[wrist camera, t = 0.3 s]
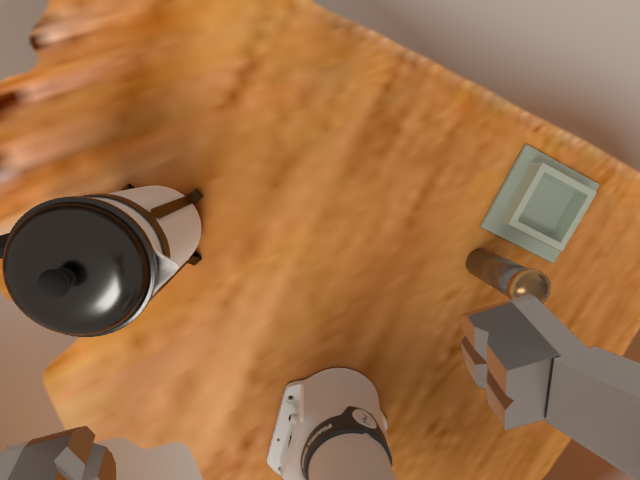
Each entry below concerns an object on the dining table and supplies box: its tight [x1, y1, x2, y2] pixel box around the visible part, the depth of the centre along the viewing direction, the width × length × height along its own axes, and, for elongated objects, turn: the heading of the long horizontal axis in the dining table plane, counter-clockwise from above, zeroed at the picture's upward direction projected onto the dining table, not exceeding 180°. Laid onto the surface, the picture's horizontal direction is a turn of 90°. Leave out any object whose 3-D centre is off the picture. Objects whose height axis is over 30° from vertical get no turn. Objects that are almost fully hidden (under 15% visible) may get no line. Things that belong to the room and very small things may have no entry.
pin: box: [466, 249, 551, 304], centre depth 58 cm, size 5×5×14 cm
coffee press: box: [0, 184, 203, 337], centre depth 45 cm, size 17×16×30 cm
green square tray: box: [479, 144, 600, 263], centre depth 62 cm, size 14×14×4 cm
